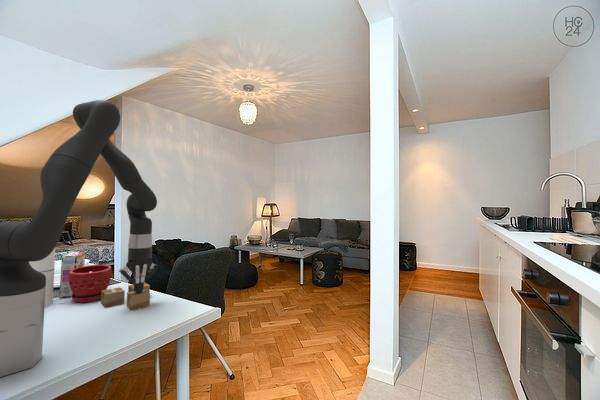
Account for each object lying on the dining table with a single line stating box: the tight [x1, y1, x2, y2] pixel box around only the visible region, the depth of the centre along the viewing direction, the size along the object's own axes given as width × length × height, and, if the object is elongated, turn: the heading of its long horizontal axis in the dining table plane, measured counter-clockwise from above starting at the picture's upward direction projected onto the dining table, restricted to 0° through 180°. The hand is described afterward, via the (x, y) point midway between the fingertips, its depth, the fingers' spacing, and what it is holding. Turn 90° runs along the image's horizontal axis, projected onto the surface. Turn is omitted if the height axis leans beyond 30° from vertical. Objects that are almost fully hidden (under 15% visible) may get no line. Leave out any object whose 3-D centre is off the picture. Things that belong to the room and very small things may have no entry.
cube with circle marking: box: [127, 281, 151, 293], centre depth 106 cm, size 6×6×5 cm
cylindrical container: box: [29, 247, 56, 307], centre depth 96 cm, size 7×7×25 cm
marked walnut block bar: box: [100, 287, 126, 309], centre depth 99 cm, size 6×6×5 cm
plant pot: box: [69, 264, 112, 303], centre depth 104 cm, size 13×13×12 cm
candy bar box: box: [58, 251, 86, 299], centre depth 109 cm, size 11×5×16 cm, turn 25°
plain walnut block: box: [126, 289, 151, 311], centre depth 97 cm, size 6×6×5 cm
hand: (138, 292), depth 98 cm, fingers closed
